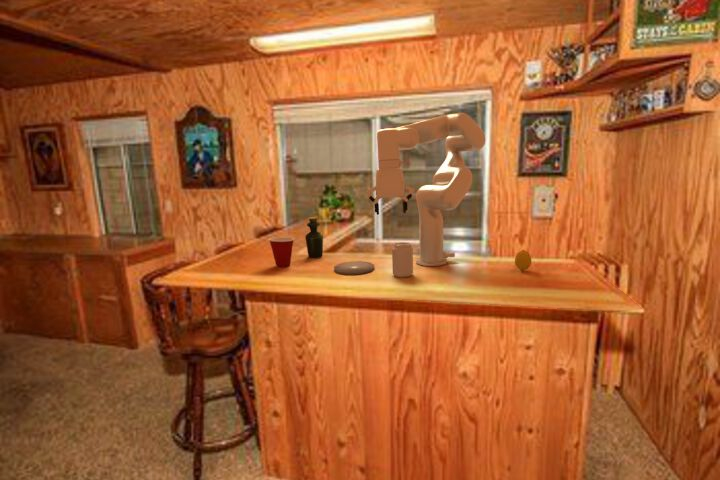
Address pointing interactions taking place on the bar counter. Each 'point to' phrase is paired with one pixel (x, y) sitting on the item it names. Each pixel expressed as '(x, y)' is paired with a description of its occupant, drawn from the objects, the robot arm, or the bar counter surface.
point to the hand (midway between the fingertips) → (391, 213)
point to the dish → (354, 268)
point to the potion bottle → (314, 239)
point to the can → (402, 259)
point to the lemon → (523, 260)
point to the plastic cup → (282, 250)
